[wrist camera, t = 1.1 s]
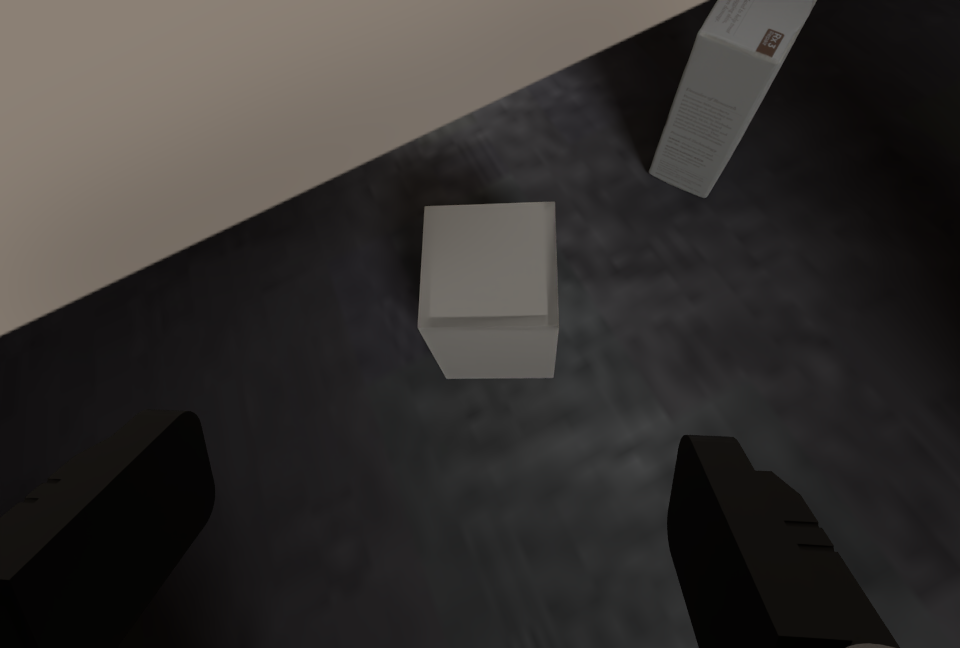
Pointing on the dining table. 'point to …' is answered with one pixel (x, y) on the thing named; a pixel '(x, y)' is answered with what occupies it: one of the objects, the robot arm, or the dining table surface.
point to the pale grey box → (490, 289)
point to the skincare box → (724, 87)
